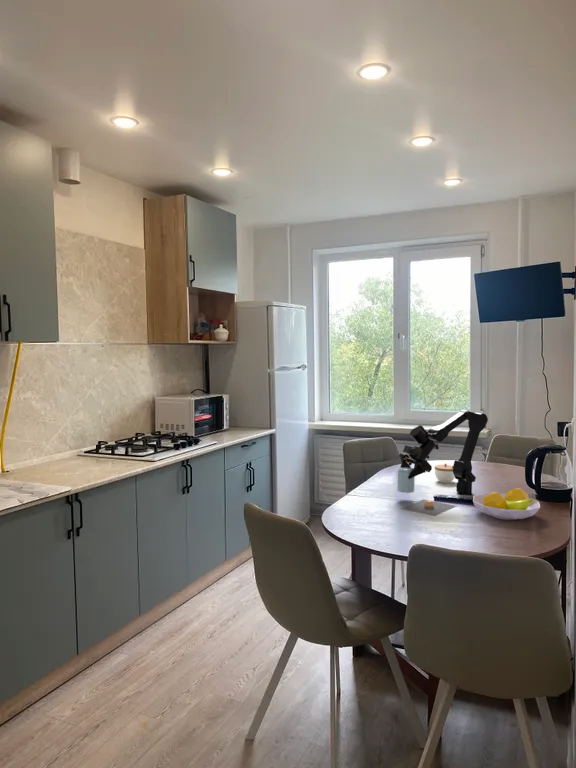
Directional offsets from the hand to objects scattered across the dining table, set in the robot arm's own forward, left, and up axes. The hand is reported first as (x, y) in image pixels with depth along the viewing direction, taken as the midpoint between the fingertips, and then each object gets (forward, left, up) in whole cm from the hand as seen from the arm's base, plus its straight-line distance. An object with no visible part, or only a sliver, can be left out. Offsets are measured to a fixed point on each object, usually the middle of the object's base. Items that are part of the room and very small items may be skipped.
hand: (403, 476), depth 260 cm
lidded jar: (-20, -43, -11) cm, 49 cm away
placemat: (-11, +9, -11) cm, 18 cm away
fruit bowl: (-42, +13, -11) cm, 46 cm away
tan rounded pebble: (-11, +9, -11) cm, 18 cm away
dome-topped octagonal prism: (-1, -1, -7) cm, 7 cm away
